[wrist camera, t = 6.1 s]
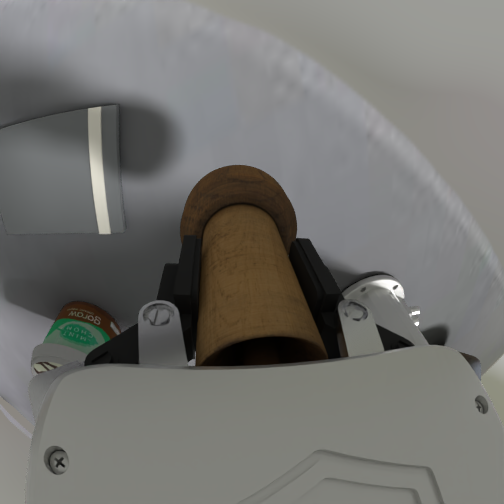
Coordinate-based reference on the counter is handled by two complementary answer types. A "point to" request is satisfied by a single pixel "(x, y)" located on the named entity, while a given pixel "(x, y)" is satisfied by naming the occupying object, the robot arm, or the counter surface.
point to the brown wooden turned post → (248, 272)
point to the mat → (62, 174)
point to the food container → (73, 336)
